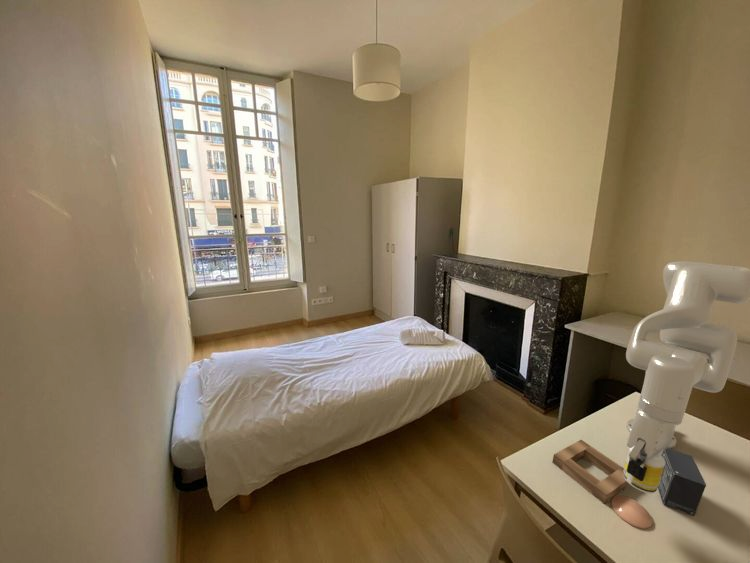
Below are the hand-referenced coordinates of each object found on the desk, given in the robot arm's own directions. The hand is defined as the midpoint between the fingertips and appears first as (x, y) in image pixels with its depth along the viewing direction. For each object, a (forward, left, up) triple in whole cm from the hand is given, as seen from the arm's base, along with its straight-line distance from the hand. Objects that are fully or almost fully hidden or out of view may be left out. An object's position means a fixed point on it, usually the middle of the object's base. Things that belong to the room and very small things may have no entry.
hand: (642, 470), depth 73 cm
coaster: (0, 0, -14) cm, 14 cm away
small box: (-16, +2, -14) cm, 22 cm away
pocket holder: (-3, -12, -14) cm, 18 cm away
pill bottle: (0, 0, -4) cm, 4 cm away
